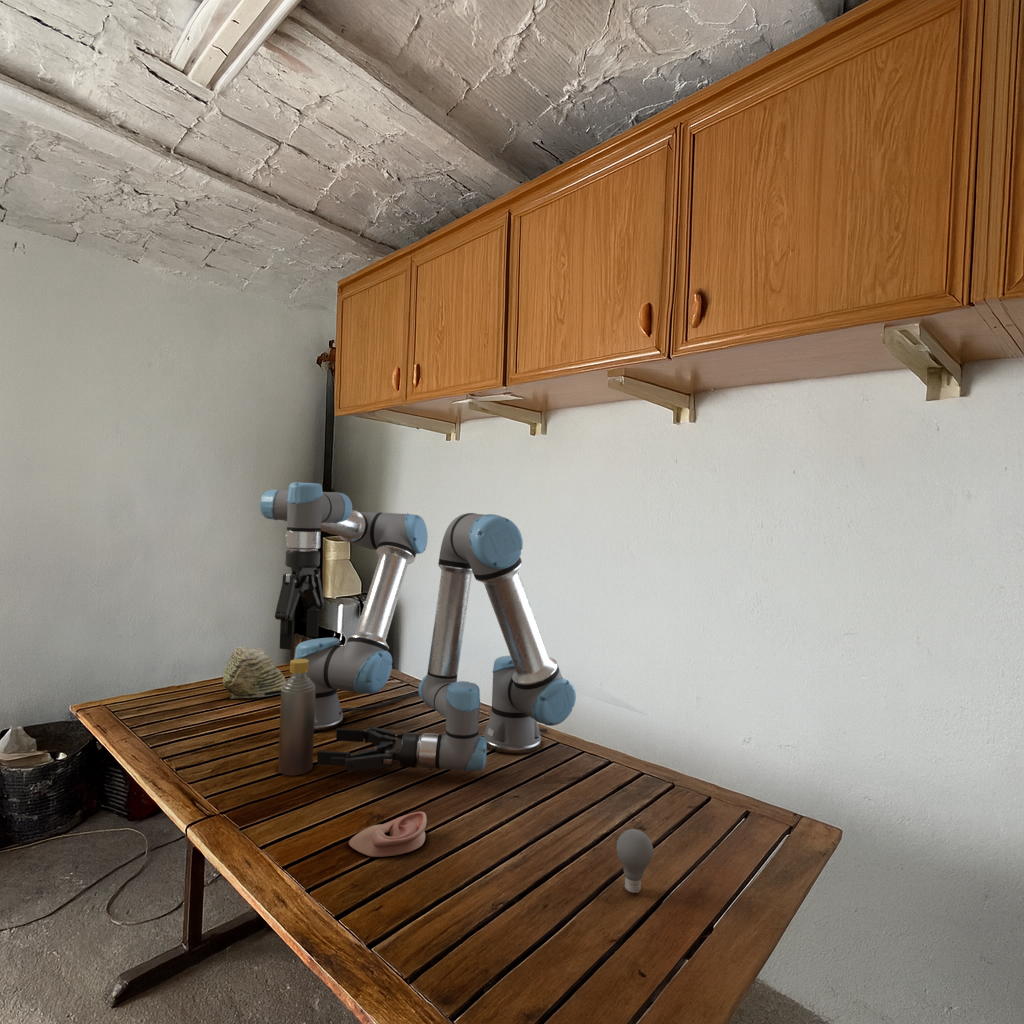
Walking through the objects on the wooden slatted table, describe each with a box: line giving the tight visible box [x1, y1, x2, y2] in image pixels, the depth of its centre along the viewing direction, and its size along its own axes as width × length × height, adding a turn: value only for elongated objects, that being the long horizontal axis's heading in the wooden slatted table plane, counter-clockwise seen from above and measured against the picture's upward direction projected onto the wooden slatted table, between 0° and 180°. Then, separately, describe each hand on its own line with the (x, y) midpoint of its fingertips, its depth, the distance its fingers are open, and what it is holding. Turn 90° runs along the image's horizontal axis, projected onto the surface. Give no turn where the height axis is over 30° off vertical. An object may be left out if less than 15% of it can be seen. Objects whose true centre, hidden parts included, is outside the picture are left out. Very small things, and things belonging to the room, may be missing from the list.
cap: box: [289, 658, 309, 674], centre depth 146 cm, size 4×4×2 cm
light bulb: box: [615, 828, 654, 894], centre depth 106 cm, size 6×6×10 cm
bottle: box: [277, 673, 316, 776], centre depth 147 cm, size 8×8×25 cm
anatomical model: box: [348, 811, 428, 858], centre depth 117 cm, size 13×4×12 cm
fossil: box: [222, 646, 287, 699], centre depth 198 cm, size 9×18×15 cm, turn 132°
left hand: (299, 642), depth 146 cm, fingers open, 12 cm apart
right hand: (327, 745), depth 146 cm, fingers open, 13 cm apart
